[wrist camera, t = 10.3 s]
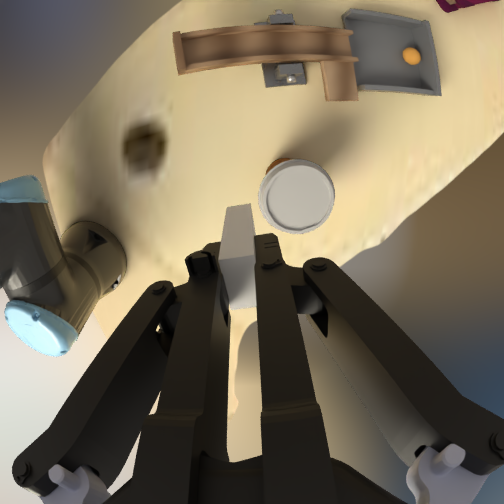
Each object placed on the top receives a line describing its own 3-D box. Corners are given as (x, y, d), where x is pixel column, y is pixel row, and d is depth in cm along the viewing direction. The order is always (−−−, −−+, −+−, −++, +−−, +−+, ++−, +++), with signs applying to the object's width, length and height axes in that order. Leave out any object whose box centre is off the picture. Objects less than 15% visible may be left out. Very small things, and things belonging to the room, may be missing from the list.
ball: (425, 66, 30) (409, 66, 33) (422, 49, 29) (406, 49, 31) (417, 63, 29) (400, 63, 32) (414, 45, 28) (397, 46, 30)
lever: (186, 120, 30) (187, 119, 27) (172, 40, 25) (172, 32, 22) (354, 100, 34) (368, 100, 31) (343, 33, 29) (356, 29, 26)
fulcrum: (265, 87, 36) (269, 83, 30) (254, 24, 30) (256, 10, 25) (305, 84, 35) (316, 79, 30) (293, 21, 30) (302, 7, 24)
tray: (355, 90, 36) (368, 89, 31) (341, 15, 29) (352, 6, 25) (424, 95, 35) (441, 95, 31) (413, 26, 28) (428, 21, 24)
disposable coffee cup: (250, 200, 44) (252, 231, 34) (260, 142, 40) (267, 153, 29) (307, 210, 45) (326, 242, 35) (320, 154, 41) (346, 170, 30)
